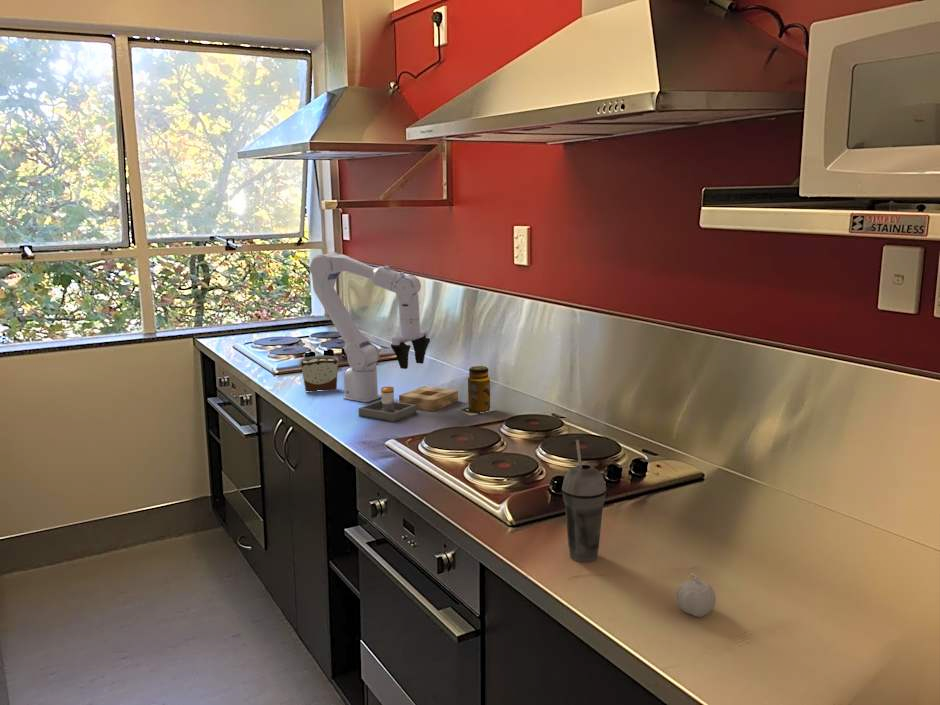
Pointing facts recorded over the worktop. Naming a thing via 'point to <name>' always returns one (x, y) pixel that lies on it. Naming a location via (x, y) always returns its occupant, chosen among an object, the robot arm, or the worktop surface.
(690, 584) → the garlic
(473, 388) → the condiment
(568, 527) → the beverage cup
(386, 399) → the small glass vial
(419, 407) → the socket block
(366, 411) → the tray
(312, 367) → the food container
